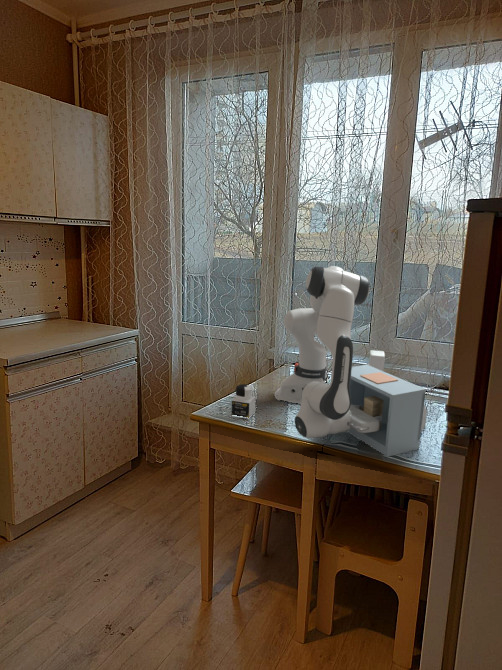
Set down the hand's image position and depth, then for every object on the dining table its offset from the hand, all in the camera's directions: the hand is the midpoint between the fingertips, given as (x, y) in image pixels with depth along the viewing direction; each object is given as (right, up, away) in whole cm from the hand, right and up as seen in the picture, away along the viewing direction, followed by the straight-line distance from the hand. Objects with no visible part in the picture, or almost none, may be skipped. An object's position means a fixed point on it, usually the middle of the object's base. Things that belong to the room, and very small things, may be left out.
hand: (371, 412), depth 167 cm
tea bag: (+20, -8, +10) cm, 23 cm away
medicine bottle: (-45, -4, +18) cm, 49 cm away
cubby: (+1, -8, +3) cm, 9 cm away
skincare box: (+15, +4, +56) cm, 58 cm away
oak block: (0, -6, +2) cm, 6 cm away
